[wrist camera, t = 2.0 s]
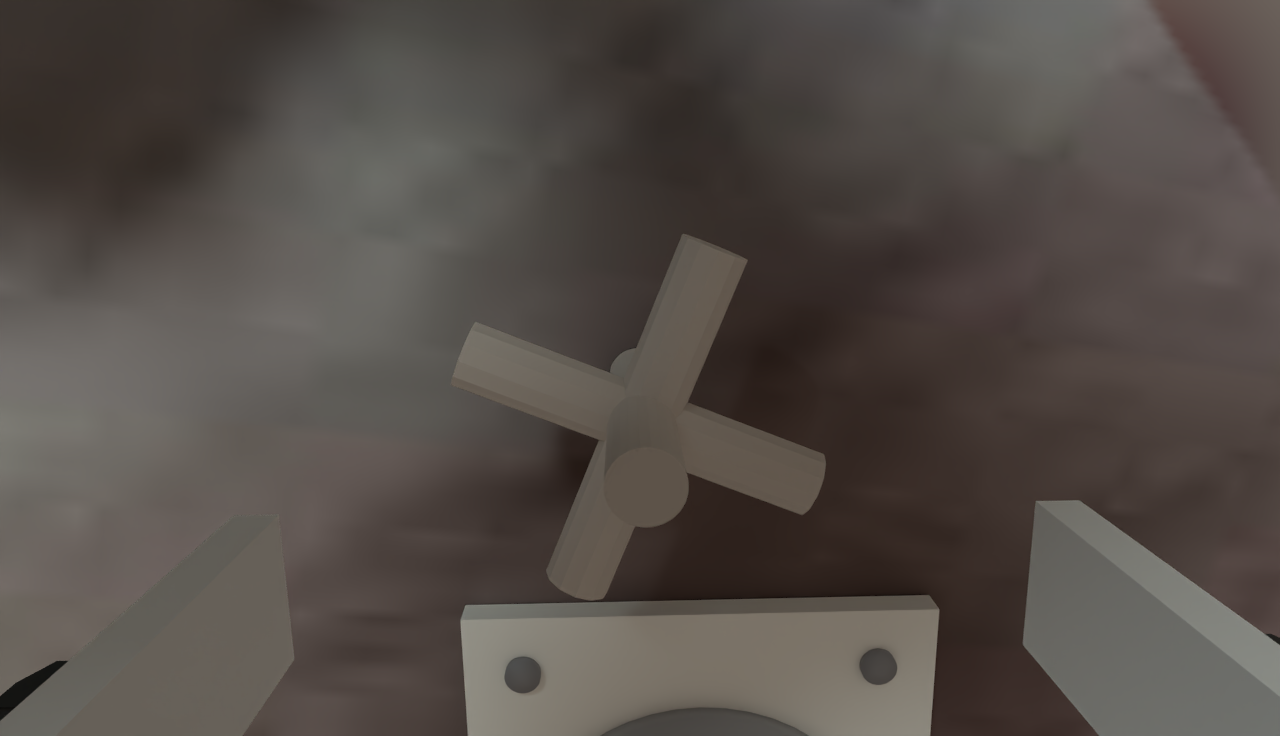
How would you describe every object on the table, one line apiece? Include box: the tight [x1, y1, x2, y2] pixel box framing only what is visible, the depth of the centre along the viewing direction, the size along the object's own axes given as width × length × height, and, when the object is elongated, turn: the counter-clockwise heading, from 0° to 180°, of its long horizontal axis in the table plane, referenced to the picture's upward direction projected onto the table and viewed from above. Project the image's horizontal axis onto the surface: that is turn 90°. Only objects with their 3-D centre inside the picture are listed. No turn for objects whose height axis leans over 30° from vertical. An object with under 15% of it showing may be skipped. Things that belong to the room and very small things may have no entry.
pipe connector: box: [451, 234, 826, 601], centre depth 24 cm, size 10×10×10 cm
